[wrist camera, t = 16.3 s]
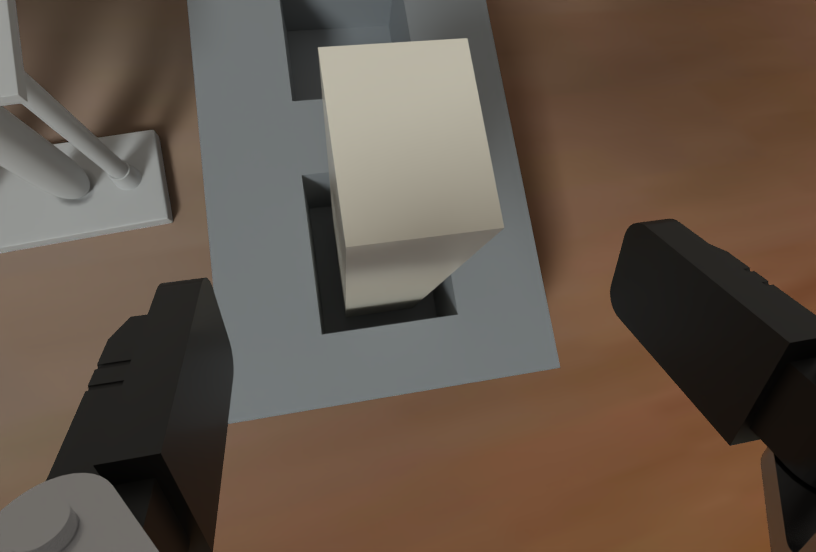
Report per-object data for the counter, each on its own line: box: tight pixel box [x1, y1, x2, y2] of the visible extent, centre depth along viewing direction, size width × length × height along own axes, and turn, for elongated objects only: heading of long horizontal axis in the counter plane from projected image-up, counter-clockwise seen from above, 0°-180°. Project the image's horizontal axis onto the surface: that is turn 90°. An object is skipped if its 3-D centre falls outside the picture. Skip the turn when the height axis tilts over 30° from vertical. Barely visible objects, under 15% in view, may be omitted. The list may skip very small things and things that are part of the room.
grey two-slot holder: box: [187, 0, 560, 424], centre depth 22 cm, size 12×20×6 cm, turn 9°
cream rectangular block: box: [318, 38, 504, 317], centre depth 16 cm, size 3×4×13 cm
